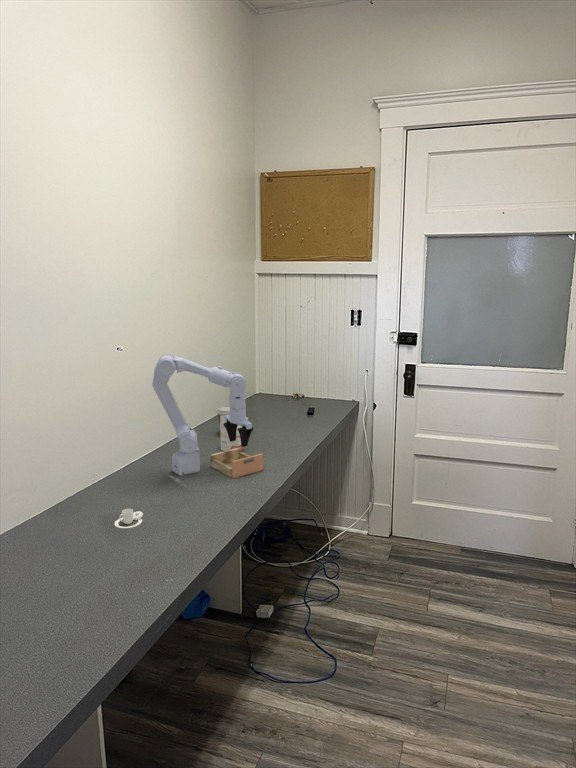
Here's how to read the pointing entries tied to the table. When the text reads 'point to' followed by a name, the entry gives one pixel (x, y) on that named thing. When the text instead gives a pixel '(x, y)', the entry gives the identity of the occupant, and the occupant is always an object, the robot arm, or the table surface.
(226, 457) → the tray
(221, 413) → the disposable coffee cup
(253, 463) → the panel
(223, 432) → the ink cartridge box
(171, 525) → the table surface
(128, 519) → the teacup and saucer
